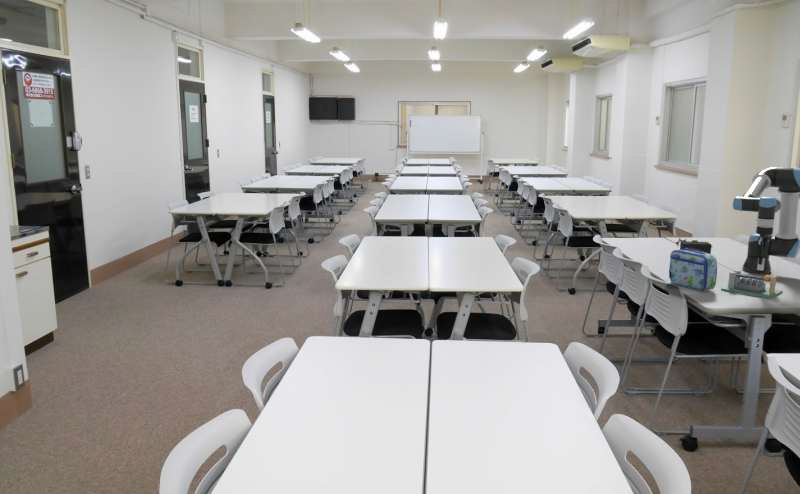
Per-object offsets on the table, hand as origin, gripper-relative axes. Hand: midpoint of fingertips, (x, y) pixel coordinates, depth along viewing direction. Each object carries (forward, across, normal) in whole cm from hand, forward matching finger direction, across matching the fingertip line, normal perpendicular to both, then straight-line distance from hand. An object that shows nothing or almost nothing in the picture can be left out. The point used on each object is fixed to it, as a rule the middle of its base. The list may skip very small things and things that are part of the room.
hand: (760, 270), depth 319 cm
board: (+12, 0, -3) cm, 13 cm away
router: (+13, -18, -42) cm, 47 cm away
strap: (+5, 0, -3) cm, 6 cm away
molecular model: (+14, -52, -63) cm, 83 cm away
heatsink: (+12, 0, -4) cm, 13 cm away
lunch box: (+13, +14, -30) cm, 35 cm away
